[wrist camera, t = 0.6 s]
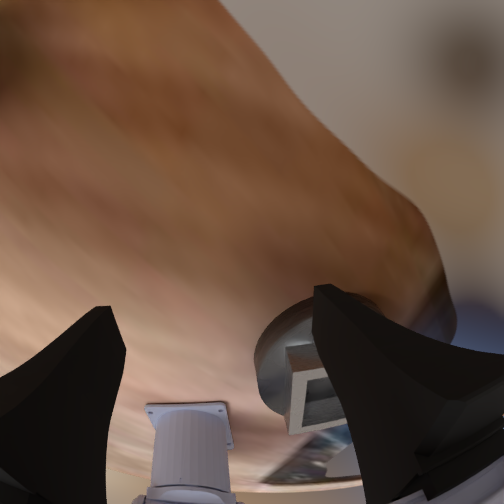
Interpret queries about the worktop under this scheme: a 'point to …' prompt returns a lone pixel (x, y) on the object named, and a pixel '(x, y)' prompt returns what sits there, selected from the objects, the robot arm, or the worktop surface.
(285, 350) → the square tube on disc
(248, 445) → the worktop surface
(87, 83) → the worktop surface
